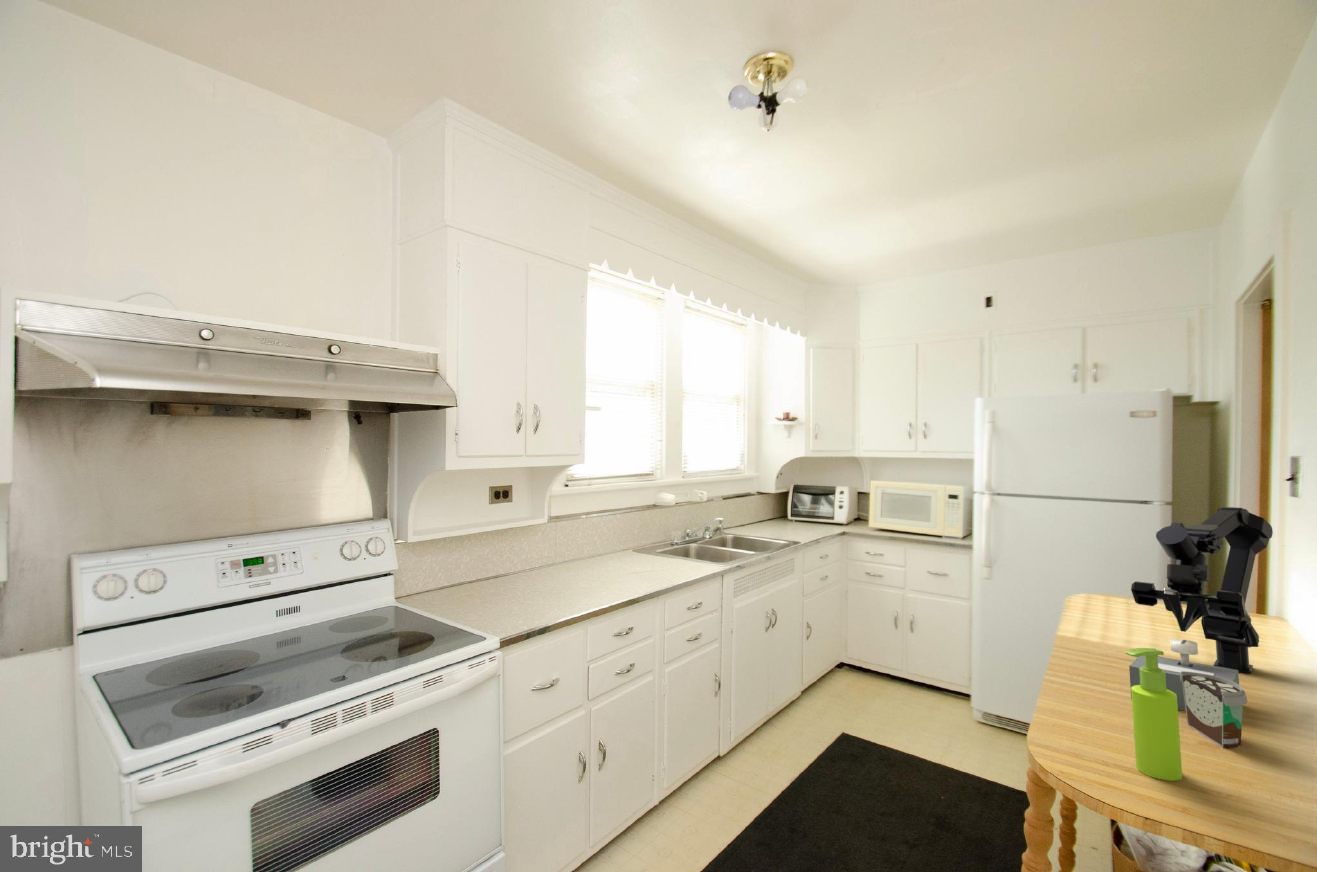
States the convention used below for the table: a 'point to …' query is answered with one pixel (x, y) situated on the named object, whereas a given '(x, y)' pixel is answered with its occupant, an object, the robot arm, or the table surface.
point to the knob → (1184, 649)
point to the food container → (1214, 707)
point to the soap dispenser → (1155, 720)
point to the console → (1174, 671)
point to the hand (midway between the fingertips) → (1182, 630)
